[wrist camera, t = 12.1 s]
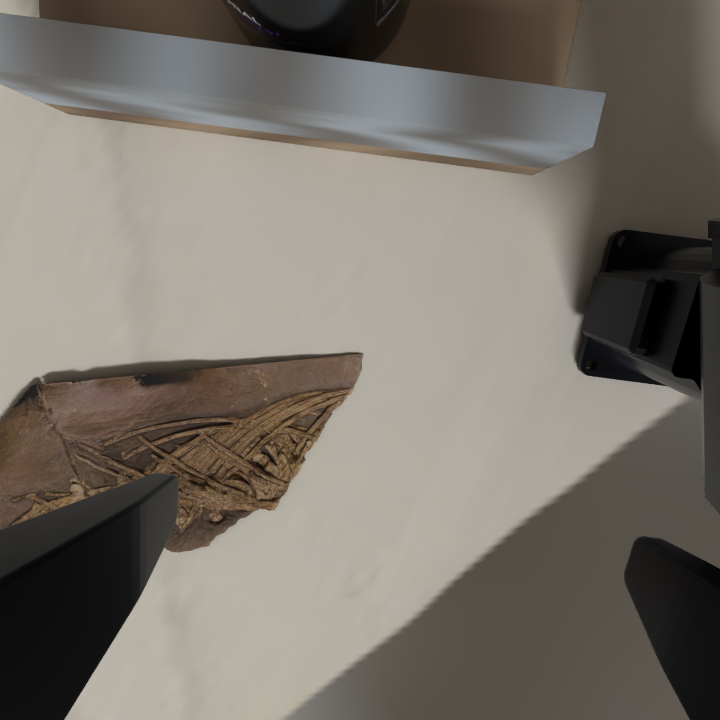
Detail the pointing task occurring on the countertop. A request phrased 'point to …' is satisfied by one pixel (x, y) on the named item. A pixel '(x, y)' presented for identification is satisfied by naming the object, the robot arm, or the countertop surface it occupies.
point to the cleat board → (320, 79)
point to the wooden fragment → (172, 439)
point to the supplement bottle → (321, 25)
